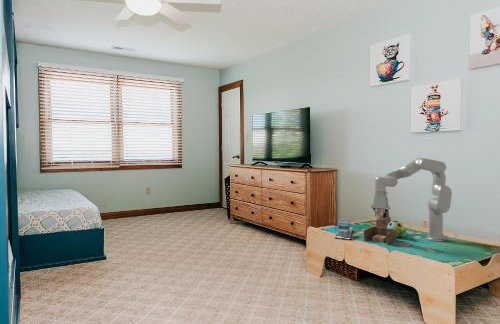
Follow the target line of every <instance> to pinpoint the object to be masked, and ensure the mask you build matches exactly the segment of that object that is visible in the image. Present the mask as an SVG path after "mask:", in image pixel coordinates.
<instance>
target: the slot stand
mask: <svg viewBox="0 0 500 324" xmlns="http://www.w3.org/2000/svg"><path fill="white" fill-rule="evenodd" d="M397 238H398V236H397V230H396V229H389V228H383V227H376V225H375V226H374V225H372V226H369V227H368V228H365V229H364V230H363V241H364V242H365V241H368V240H370V239H372V241H373V242H377V243H385V242H386V243H385V244H386V246H389V245H391V244H392V243H395V242H396V241H397Z"/></svg>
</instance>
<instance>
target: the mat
mask: <svg viewBox="0 0 500 324" xmlns="http://www.w3.org/2000/svg"><path fill="white" fill-rule="evenodd" d="M392 245H393V246H398V247H403V248H404V247H405V248H409V247H411V246H412V245H413V243H410V242H409V243H408V242H404V241H397V242H396V241H395V242H394V243H393V244H392Z"/></svg>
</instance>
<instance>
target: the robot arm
mask: <svg viewBox="0 0 500 324" xmlns="http://www.w3.org/2000/svg"><path fill="white" fill-rule="evenodd" d="M421 170H424V171H427V172H430V173H431V174H432V185H431V194H432V195H433V196H434V197H432V198H430V199H429V200H428V203H427V206H428V207H427V208H428V235H427V236H426V240H428V241H432V242H444V241H445V240H449V239H450V236H448V235H445V234H444V233H443V232H444V231H443V230H444V229H443V228H444V214H445V213H447V212H448V211H450V209H451V204H452V196H453V193H452V189H451V187H449V186H448V185H446V180H447V179H446V178H447V177H446V174H445V171H446V170H447V165H446V163H445V162H444V161H439V160H435V159H430V158H424V157H418V158H415V159H414V160H412V161H410V162H408V163H407V164H406V165H404V166H402V167H399V168H397V169H395V170H392V171H390V172H388V173H387V174H386V175H384V176H376V177H375V178H374V189H375V190H374V191H375V192H374V196H373V202H372V205H370V208H371V209H372V210H373V211H374V212H375V213H374V214H375V217H376V208H380V209H383V211H384V213H383V218H385V217H386V212H387V211H390V210H391V207H390V205H389V200H388V199H389V198H388V192H387V188H386V187H388V188H391V187H392V188H393V187H396V186H397V185H398V180H400V179H405V178H409V177H412V176H413V175H414V174H416V173H418V172H420V171H421Z"/></svg>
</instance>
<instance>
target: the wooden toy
mask: <svg viewBox="0 0 500 324" xmlns="http://www.w3.org/2000/svg"><path fill="white" fill-rule="evenodd" d="M375 221H376V223H375V226H376V227H383V228H387V226H388V224H389V223H390V222H391V221H393V219H392V220H391V216H390V210H388V211H387V212H386V217H385V219H384V220H379V219H375ZM391 224H392V223H391Z"/></svg>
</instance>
